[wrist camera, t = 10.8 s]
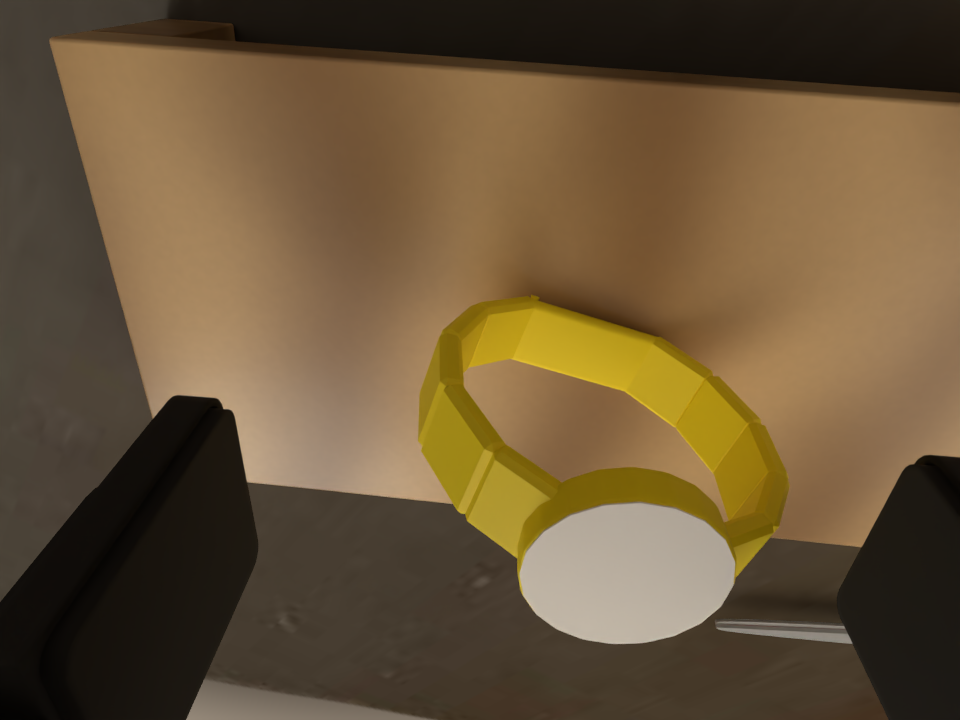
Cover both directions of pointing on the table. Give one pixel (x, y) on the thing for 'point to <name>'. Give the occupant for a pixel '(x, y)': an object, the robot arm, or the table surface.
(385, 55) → the desk stand
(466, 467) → the watch
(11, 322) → the table surface
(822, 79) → the table surface
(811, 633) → the scissors
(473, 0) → the table surface
